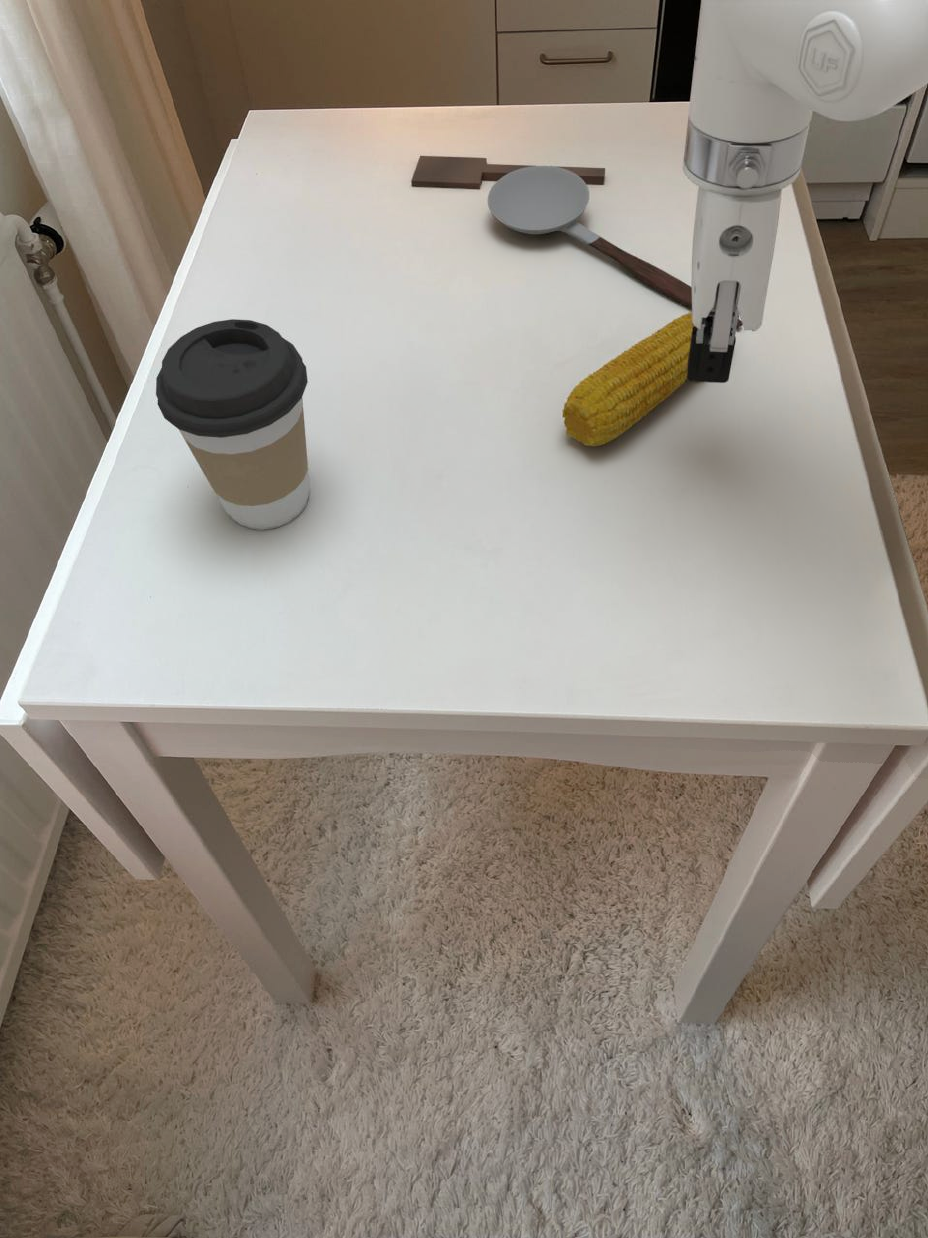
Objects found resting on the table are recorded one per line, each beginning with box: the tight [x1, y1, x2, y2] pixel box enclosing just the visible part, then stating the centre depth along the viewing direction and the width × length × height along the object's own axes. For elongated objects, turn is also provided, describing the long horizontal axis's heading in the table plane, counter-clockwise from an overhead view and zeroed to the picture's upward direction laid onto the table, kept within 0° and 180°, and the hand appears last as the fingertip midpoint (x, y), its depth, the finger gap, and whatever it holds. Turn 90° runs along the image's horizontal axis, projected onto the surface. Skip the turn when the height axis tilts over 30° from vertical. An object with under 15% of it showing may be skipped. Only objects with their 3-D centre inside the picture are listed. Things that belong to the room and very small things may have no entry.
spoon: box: [487, 165, 743, 328], centre depth 99 cm, size 11×33×3 cm, turn 42°
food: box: [562, 311, 696, 447], centre depth 85 cm, size 21×6×6 cm, turn 136°
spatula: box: [411, 155, 606, 190], centre depth 110 cm, size 22×6×1 cm, turn 81°
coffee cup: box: [155, 318, 311, 531], centre depth 76 cm, size 11×11×15 cm
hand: (707, 375), depth 76 cm, fingers closed
